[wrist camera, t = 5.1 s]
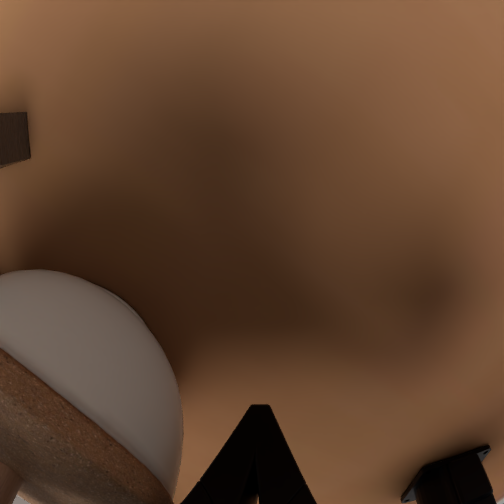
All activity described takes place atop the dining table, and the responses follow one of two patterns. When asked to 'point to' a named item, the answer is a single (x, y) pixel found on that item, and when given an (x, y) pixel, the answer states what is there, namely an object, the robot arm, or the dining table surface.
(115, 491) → the lidded jar
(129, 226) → the dining table surface
